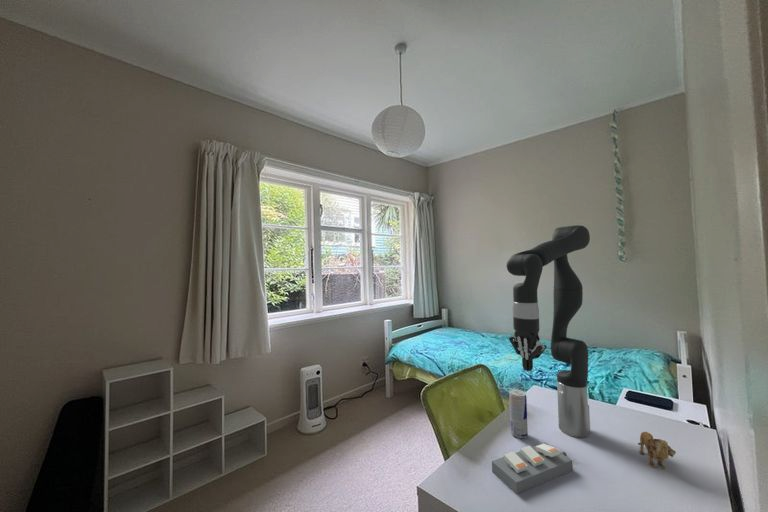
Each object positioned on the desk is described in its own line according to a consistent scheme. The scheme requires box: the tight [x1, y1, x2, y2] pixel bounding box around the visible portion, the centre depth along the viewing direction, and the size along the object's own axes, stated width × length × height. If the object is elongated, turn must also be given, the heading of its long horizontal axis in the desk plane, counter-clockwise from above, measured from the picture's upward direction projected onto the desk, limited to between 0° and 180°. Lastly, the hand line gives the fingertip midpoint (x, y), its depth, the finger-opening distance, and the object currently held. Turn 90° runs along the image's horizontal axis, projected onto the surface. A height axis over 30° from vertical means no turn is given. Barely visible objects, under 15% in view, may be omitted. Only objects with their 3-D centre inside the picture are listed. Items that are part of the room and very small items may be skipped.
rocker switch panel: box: [491, 442, 574, 495], centre depth 85 cm, size 25×9×3 cm, turn 112°
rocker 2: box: [535, 443, 561, 457], centre depth 87 cm, size 4×5×2 cm
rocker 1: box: [503, 450, 528, 473], centre depth 82 cm, size 4×5×2 cm
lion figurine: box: [637, 431, 677, 469], centre depth 88 cm, size 15×5×9 cm, turn 165°
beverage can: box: [508, 388, 529, 439], centre depth 102 cm, size 6×6×15 cm
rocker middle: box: [519, 445, 544, 467], centre depth 84 cm, size 4×5×2 cm
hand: (527, 370), depth 91 cm, fingers closed
